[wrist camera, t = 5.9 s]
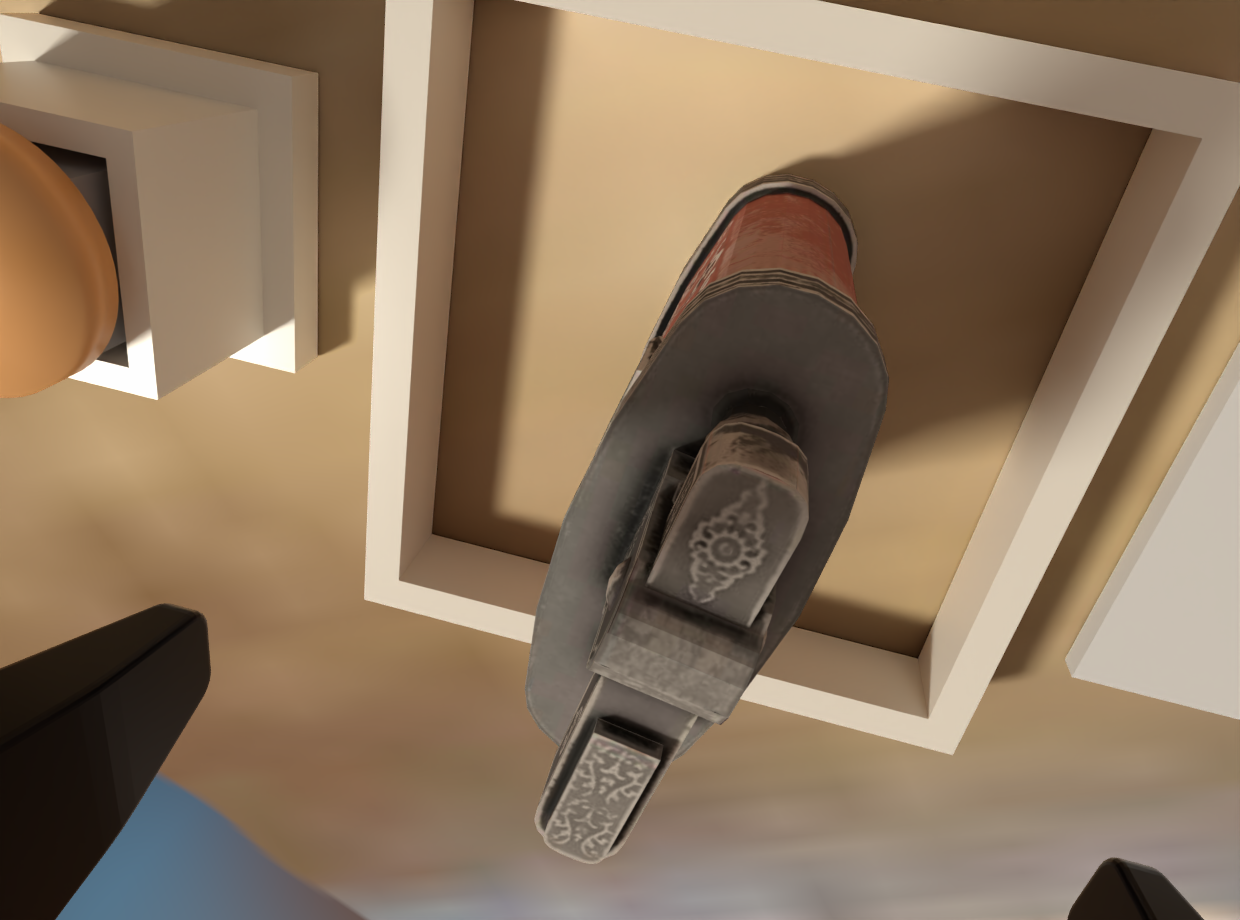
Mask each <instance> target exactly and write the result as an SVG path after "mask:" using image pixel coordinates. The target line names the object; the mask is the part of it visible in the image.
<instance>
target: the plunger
mask: <svg viewBox="0 0 1240 920" xmlns="http://www.w3.org/2000/svg"><path fill="white" fill-rule="evenodd" d="M124 342H126V335H125V326H124V317H123V308H122V299H121V290H120V281H119V272H118V263H117V253H116V244H115V235H114V226H113V217H112V208H111V199H110V190H109V181H108V172H107V163H106V158H103V157H99V156H94V155H90V154H85V153H81V152H76V151H72V150H68V149H63V148H59V147H54V146H50V145H45V144H41V143H37V142H32V141H29V140H27V139H26V138H25V137H23V136H22V135H20V134H19V133H17V132H15V131H14V130H12V129H10V128H8V127H7V126H5V125H3V124H1V123H0V398H14V397H23V396H27V395H31V394H35V393H37V392H39V391H42V390H44V389H46V388H48V387H50V386H52V385H54V384H56V383H58V382H60V381H62V380H64V379H66V378H68V377H70V376H72V375H74V374H76V373H78V372H80V371H82V370H84V369H85V368H86V367H88V366H89V365H91V364H92V363H93V362H94V361H95V360H96V359H97V358H98V357H99V356H100V355H101V354H102V353H103V352H105V351H107V350H109V349H112V348H114V347H116V346H118V345H120V344H122V343H124Z"/></svg>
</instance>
